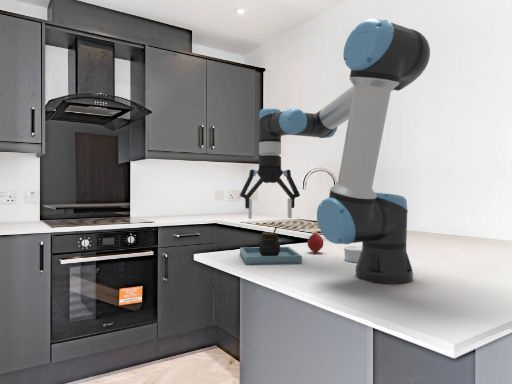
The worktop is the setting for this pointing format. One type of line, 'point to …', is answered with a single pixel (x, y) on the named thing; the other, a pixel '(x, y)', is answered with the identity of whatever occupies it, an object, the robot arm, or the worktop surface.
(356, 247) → the ramekin
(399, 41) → the robot arm
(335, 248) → the worktop surface
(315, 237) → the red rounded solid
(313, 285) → the worktop surface
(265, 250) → the mate gourd
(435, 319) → the worktop surface
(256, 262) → the slate tray
